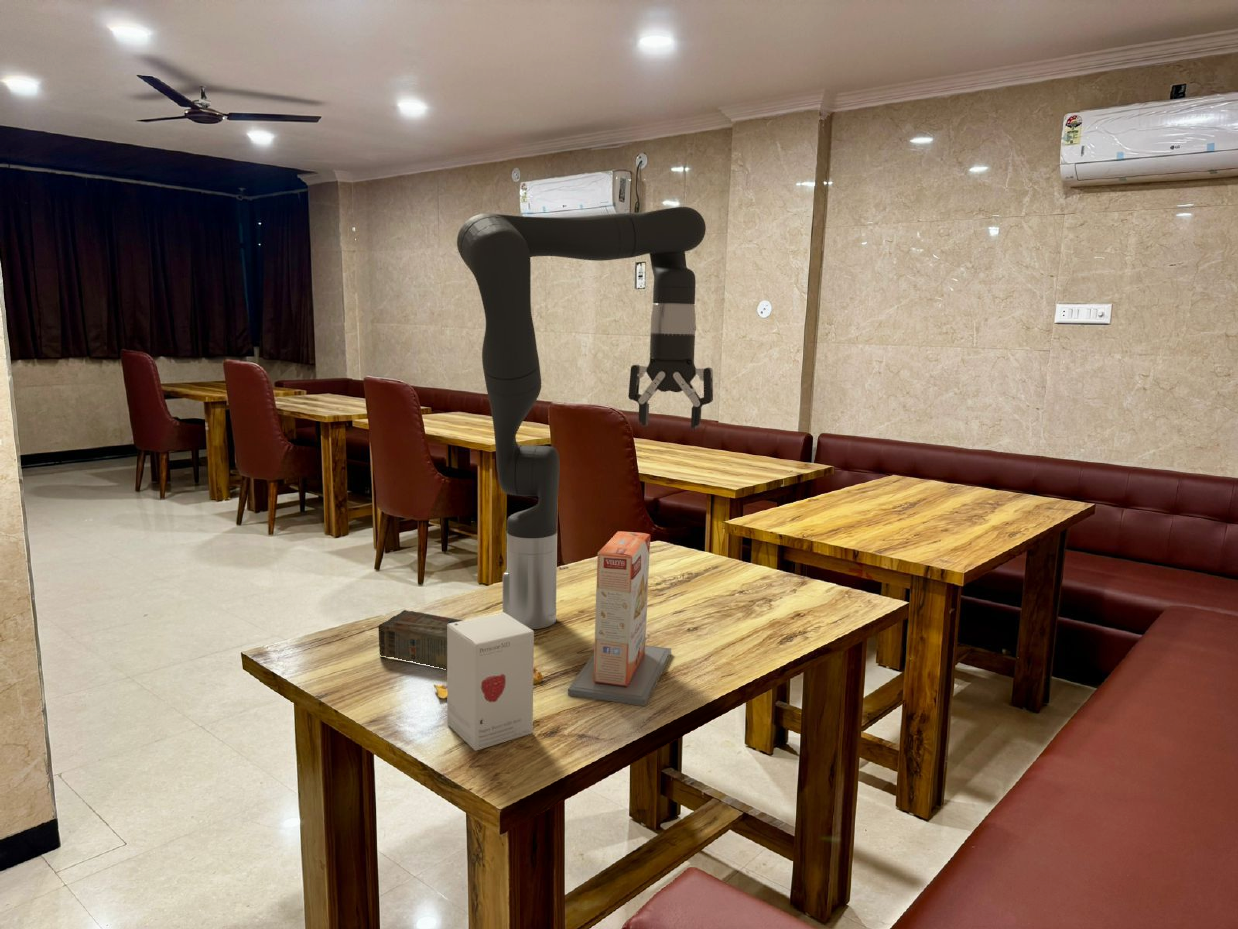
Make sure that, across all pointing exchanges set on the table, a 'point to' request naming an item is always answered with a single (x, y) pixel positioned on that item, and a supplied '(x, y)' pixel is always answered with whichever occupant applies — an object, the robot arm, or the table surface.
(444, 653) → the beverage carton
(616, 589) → the cracker box
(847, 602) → the table surface
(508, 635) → the supplement box
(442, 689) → the candy bar
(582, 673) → the slate board
